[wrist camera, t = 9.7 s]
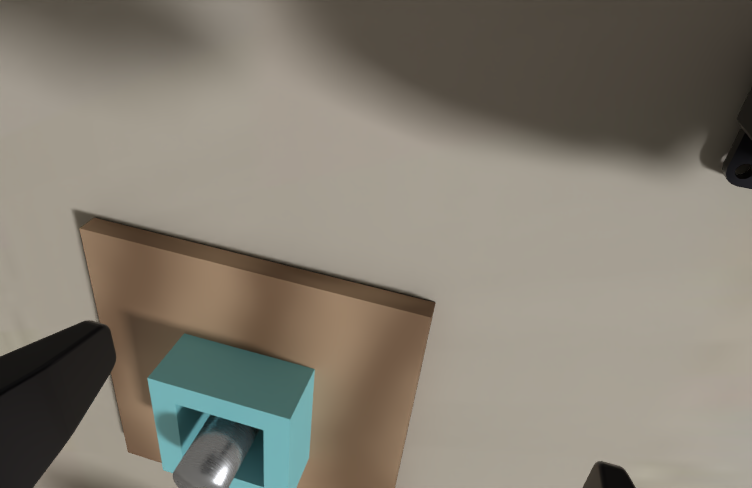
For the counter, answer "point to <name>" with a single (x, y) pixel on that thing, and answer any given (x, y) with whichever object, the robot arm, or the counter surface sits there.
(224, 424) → the post
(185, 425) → the ring
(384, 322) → the base plate
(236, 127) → the counter surface
